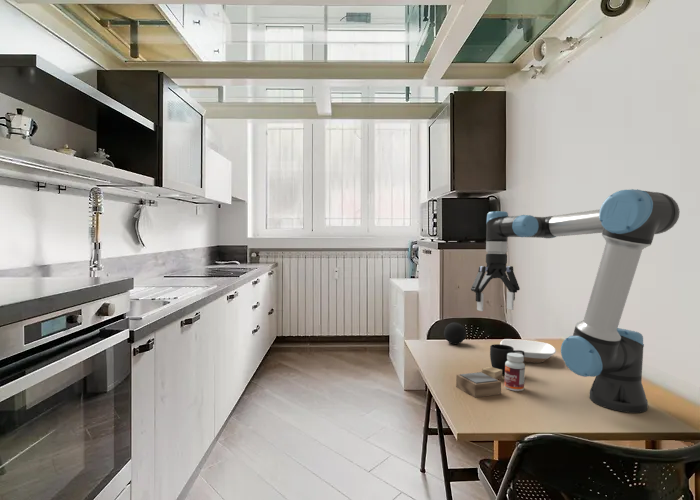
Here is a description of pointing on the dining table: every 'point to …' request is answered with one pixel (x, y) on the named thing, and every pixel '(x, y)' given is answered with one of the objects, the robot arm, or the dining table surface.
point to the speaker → (454, 333)
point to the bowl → (531, 349)
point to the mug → (501, 355)
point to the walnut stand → (478, 384)
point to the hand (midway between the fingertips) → (495, 310)
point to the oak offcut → (493, 372)
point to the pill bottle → (514, 372)
